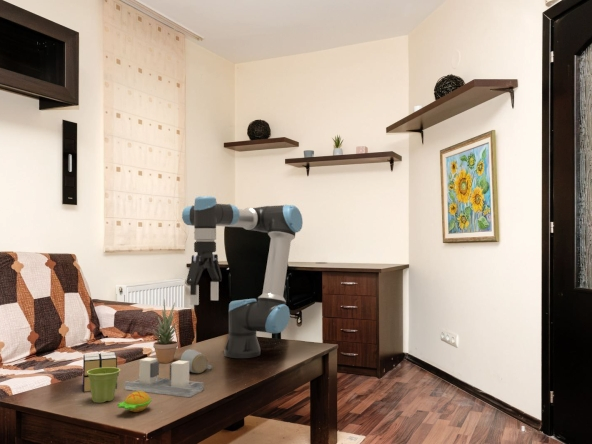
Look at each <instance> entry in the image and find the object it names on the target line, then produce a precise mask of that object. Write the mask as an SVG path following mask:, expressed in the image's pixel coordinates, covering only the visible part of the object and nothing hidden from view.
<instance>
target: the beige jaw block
mask: <svg viewBox="0 0 592 444" xmlns="http://www.w3.org/2000/svg"><path fill="white" fill-rule="evenodd" d="M170 363H171V364H170V365H169V379H171V386H175V387H185V386H187V385H189V381H190V371H189V361H180V359H179V360H176V361H172V362H170Z"/></svg>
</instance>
